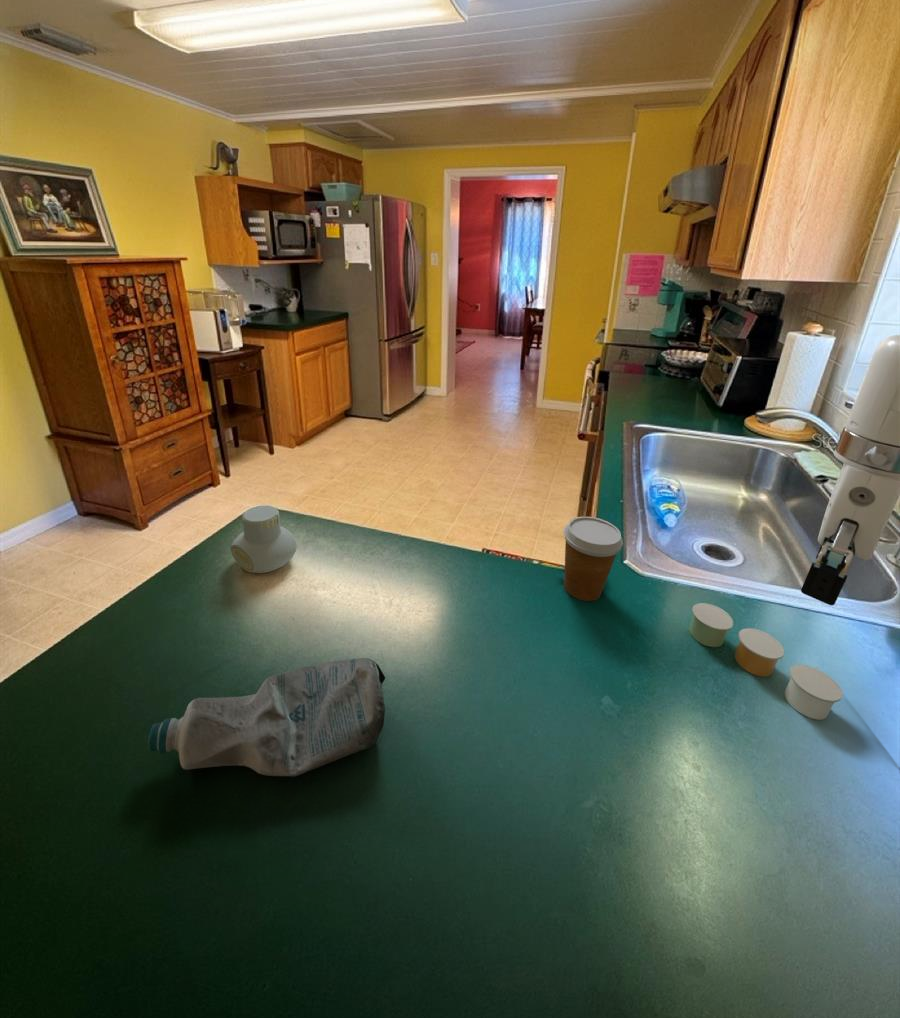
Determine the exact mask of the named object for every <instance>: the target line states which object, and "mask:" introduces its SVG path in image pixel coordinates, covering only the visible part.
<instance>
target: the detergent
mask: <svg viewBox="0 0 900 1018" xmlns="http://www.w3.org/2000/svg"><path fill="white" fill-rule="evenodd" d="M385 679H386V676H385V674H384V672H383V671H382V669H381V667H380V666H379V664H378V663H377V662H376V661H375V660H373V659H371V658H368V657H360V658H359V657H358V658H352V659H350V658H349V659H345V660H337V661H327V662H321V663H317V664H313V665H308V666H302V667H298V668H292V669H288V670H286V671H285V670H284V671H283V672H280V673H277V674H274V675H271V676H269V677H267V678H266V679H264V681H263V682H262V683H261V686H260V688H259V689H258V691H257V692H256V693H253V694H248V695H243V696H224V697H223V696H222V697H221V696H220V697H196V698H194V699H193V700H191V701H190V702H189V703H188V705H187V707H186V710H185V712H184V714H183V716H181V717H180V718H179V719H178V718H176V717H170V718H165V719H164V720H163V722H162V721H161V722H155V723H153V724H152V726H151V728H150V731H149V734H148V741H147V745H148V746H147V747H148V751H150V752H157V753H160V754H167V753H170V752H171V751H174V750H176V751H177V752H178V759H179V764H180V767H181V768H182V769H183V770H188V771H189V770H195V769H204V768H205V769H207V768H216V767H225V766H226V767H229V766H230V767H231V766H235V767H236V766H240V767H247V768H249V769H252V770H253V771H255V773H257V774H259V775H263V776H267V777H298V776H300V775H302V774H305V773H308V772H311V771H312V770H315V769H318V768H320V767H323V766H325V765H327V764H328V765H329V764H331V763H332V762H335V761H337V760H340V759H342V758H345V757H349V756H350V755H353V754H356V753H358V752H361V751H364V750H367V749H370V748H371V747H372V746H373V745H374V744H376V742H377V741H378V738H379V736H380V734H381V732H382V730H383V728H384V725H385V712H386V709H385V708H386V706H385V699H384V694H383V693H384V692H383V683H384V681H385Z"/></svg>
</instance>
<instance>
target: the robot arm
mask: <svg viewBox="0 0 900 1018" xmlns="http://www.w3.org/2000/svg"><path fill="white" fill-rule="evenodd" d="M868 364H869V365H868V367H867V369H866V372H865V374H864V377H863V378H862V379H863V380H862V381H861V384H860V387H859V388H858V391H857V394H856V396H855V398H854V402H853V404H852V406H851V409H850V412H849V414H848V417H847V420H846V422H845V424H844V427H843V429H842V431H841V433H840V436H839V439H838V441H837V444H836V446H835V449H834V451H833V456H834V457H835V458H836V459H837V460H839V462H842V463H843V464H842V467H841V469H840V472H839V475H838V477H837V480H836V481H835V485H834V487H833V490H832V492H831V495H830V498H829V501H828V503H827V506H826V509H825V512H824V515H823V518H822V522H821V526H820V529H819V533H818V537H817V542H818V544H819V545H820V547H819V550H818V552H817V554H816V557H815V559H816V560H815V562H814V561H812V563H811V565H810V568H809V569H808V572H807V575H806V576H805V579H804V582H803V584H802V586H801V588H800V592H801V593H802V594H803V595H806V596H808V597H809V598H812V599H815V600H817V601H819V602H821V603H824V604H826V605H828V606H835V605H836V602H837V600H838V598H839V596H840V594H841V591H842V589H843V587H844V585H845V583H846V581H847V578H848V575H846V574H847V573H848V569H849V568H850V565H851V563H852V560H853V558H854V556H855V557H856V558H859V559H861V561H862V562H869V561H871V560H872V557H873V556H874V552H875V551H876V549H877V546H878V544H879V542H880V539H881V537H882V535H883V533H884V531H885V528H886V526H887V524H888V522H889V520H890V518H891V516H892V513H893V512H894V509H895V507H896V504H897V502H898V500H899V498H900V334H894V335H890V336H887V337H886V338H884V339H883V340H881V341H880V342H879V343H878V344H877V346H876V348H875V350H874V353H873V354H872V357H871V359H870V362H869V363H868Z"/></svg>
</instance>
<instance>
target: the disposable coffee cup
mask: <svg viewBox="0 0 900 1018" xmlns="http://www.w3.org/2000/svg"><path fill="white" fill-rule="evenodd" d="M563 535H564V540H565V549H564V552H565V553H564V576H563V577H564V578H563V588H564V590H565V591H566V593H568V594H569V595H570V596H571V597H572V598H575V599H577V600H580V601H586V602H591V601H596V600H598V599H599V598H600V597H601V595H602V592H603V590H604V587H605V585H606V583H607V579H608V577H609V575H610V572H611V569H612V567H613V564H614V561H615V560H616V557H617V554H618V553H619V551H621V550H622V548H623V545H624V541H623V538H622V533H621V531H620V530H619V528H618V527H617V526H615V525H614V524H613V523H611V522H609V521H607V520H605V519H602V518H599V517H595V516H576V517H574V518H572V519H570V520H569V521H568V523H567V524H566V526H565V527H564V529H563Z"/></svg>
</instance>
